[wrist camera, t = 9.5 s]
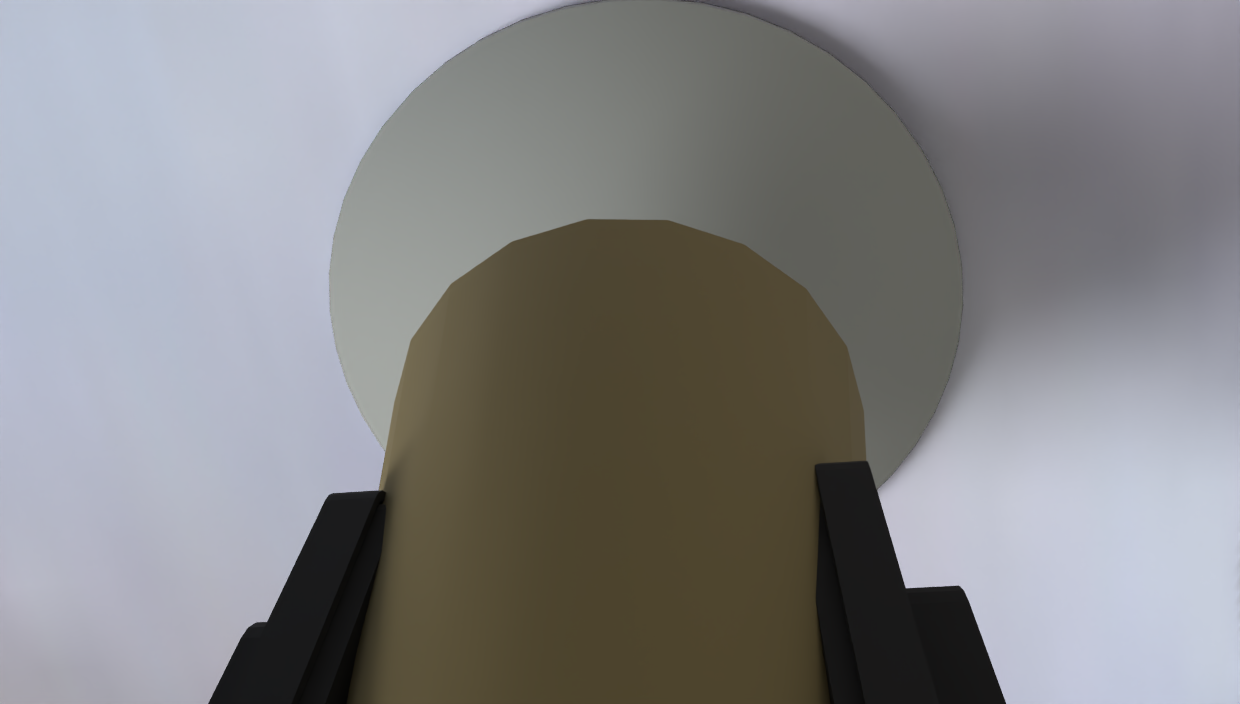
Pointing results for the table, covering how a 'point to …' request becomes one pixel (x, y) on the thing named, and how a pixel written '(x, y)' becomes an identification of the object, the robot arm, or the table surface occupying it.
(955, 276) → the pad
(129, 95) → the table surface
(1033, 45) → the table surface
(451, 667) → the cork
